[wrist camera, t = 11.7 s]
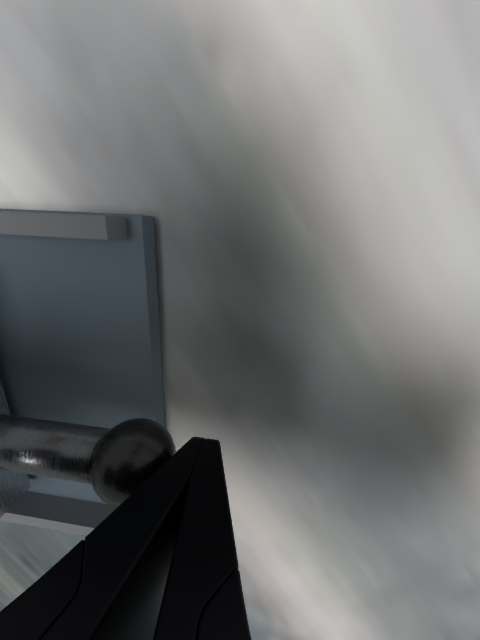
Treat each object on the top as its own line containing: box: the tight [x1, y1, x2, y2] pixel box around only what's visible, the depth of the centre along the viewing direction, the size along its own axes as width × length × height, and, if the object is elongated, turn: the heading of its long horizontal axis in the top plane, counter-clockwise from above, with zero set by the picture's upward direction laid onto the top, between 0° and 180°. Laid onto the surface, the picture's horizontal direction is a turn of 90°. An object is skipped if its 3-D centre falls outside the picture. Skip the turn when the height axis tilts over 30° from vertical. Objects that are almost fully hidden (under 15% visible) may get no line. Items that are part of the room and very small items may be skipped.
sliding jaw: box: [0, 379, 176, 518], centre depth 8 cm, size 10×10×4 cm
